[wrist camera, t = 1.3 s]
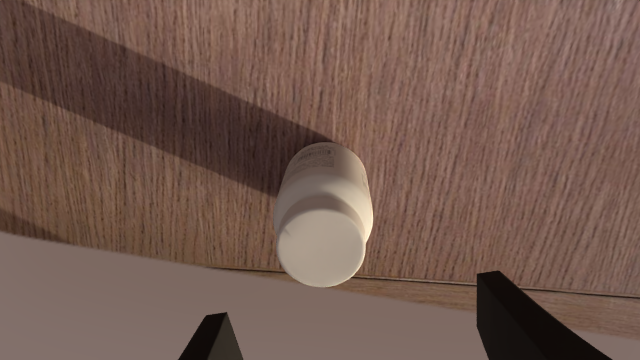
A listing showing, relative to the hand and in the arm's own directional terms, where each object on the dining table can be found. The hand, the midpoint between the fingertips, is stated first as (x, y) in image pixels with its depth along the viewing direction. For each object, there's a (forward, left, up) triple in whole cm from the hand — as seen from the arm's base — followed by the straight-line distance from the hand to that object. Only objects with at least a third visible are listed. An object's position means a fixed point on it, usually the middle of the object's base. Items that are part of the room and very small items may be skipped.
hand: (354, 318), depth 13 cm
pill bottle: (0, +1, -12) cm, 12 cm away
